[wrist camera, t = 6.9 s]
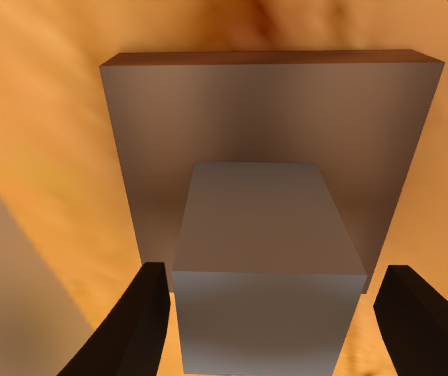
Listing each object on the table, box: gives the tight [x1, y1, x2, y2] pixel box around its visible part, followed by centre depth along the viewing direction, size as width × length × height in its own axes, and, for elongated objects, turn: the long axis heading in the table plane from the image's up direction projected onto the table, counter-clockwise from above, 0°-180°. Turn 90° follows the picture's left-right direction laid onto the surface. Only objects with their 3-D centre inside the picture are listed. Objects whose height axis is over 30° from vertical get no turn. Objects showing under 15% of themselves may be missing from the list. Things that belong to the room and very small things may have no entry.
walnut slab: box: [99, 50, 445, 294], centre depth 16 cm, size 12×12×3 cm
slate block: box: [172, 162, 367, 376], centre depth 12 cm, size 5×5×6 cm
